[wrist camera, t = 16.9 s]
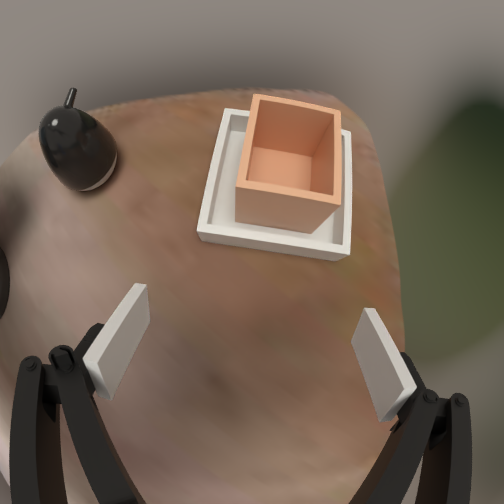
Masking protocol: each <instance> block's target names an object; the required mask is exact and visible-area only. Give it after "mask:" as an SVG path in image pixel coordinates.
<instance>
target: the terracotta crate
mask: <svg viewBox="0 0 504 504" xmlns="http://www.w3.org/2000/svg"><path fill="white" fill-rule="evenodd" d="M341 182H342V144H341V112H340V111H338V110H334V109H331V108H327V107H322V106H318V105H314V104H309V103H305V102H300V101H295V100H290V99H285V98H279V97H273V96H267V95H260V94H254V95H253V100H252V104H251V109H250V114H249V119H248V124H247V129H246V134H245V139H244V144H243V149H242V154H241V160H240V165H239V170H238V175H237V181H236V186H235V222H238V223H245V224H251V225H258V226H264V227H270V228H277V229H283V230H289V231H295V232H301V233H307V234H312V233H313V232H314V231H315V230H316V229H317V228H318V227H319V226H320V225H321V224H322V223H323V222H324V221H325V220H326V219H327V218H328V217H329V216H330V215H331V214H332V213H333V212H334V211H335V210H337V209H338V208H339V207H340V206H341Z"/></svg>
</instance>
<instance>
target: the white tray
mask: <svg viewBox="0 0 504 504" xmlns="http://www.w3.org/2000/svg"><path fill="white" fill-rule="evenodd" d="M249 114H250V111H244V110H236V109H227V108H225V110H224V114H223V118H222V121H221V125H220V129H219V133H218V137H217V141H216V145H215V149H214V153H213V157H212V161H211V166H210V170H209V174H208V179H207V183H206V188H205V192H204V197H203V202H202V206H201V211H200V216H199V221H198V226H197V233H198V235H199V237H200V239H201V241H204V242H211V243H217V244H224V245H231V246H237V247H244V248H251V249H257V250H264V251H270V252H277V253H284V254H290V255H297V256H303V257H310V258H316V259H323V260H329V261H337V260H339V259H342V258H344V257H346V256H348V255H350V241H351V218H352V153H351V132H350V131H346V130H342V129H341V144H342V182H341V206H340V207H339V208H338V209H337V210H335V211H334V212H333V213H332V214H331V215H330V216H329V217H328V218H327V219H326V220H325V221H324V222H323V223H322V224H321V225H320V226H319V227H318V228H317V229H316V230H315V231H314V232H313V233H312V234H307V233H301V232H295V231H289V230H283V229H277V228H270V227H264V226H258V225H251V224H245V223H238V222H235V186H236V181H237V175H238V170H239V165H240V160H241V154H242V149H243V144H244V139H245V134H246V129H247V124H248V119H249Z"/></svg>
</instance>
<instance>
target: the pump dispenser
mask: <svg viewBox="0 0 504 504" xmlns="http://www.w3.org/2000/svg"><path fill="white" fill-rule="evenodd" d="M76 92H77V89H76V88H71V89H70V90H69V93H68V95H67V97H66V100H65V102H64V105H63V106H58V107H55V108H53V109H51V110H50V111H48V112H47V113H46V114H45V115H44V117H43V118H42V120H41V122H40V126H39V142H40V146H41V149H42V152H43V155H44V157H45V160H46V162H47V164H48V166H49V167H50V169H51V171H52V172H53V173H54V175H55V176H56V177H57V178H58V180H59V181H60V182H61V183H62V184H63V185H64V186H66V187H67V188H69V189H71V190H76V191H79V190H80V191H87V190H92V189H94V188H97V187H99V186H100V185H102V184H103V183H104V182H105V181H106V180H107V179H108V178H109V177H110V175H111V174H112V172H113V170H114V167H115V164H116V159H117V145H116V141H115V139H114V137H113V136H112V134H111V133H110V132H109V131H108V130H107V129H106V128H105V127H104V126H103V125H102V124H101V123H100V122H99V121H98V120H97V119H95V118H94V117H92V116H91V115H89V114H88V113H86V112H84V111H82V110H79V109H76V108H73V104H74V99H75V96H76Z"/></svg>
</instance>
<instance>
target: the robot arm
mask: <svg viewBox="0 0 504 504" xmlns="http://www.w3.org/2000/svg"><path fill="white" fill-rule="evenodd" d="M8 293H9V270H8V264H7V260H6V257H5V255H4V252H3V251H2V249H1V248H0V318H1V316H2V315H3V313H4V310H5V307H6V304H7V300H8ZM149 323H150V314H149V304H148V293H147V285H146V284H139V283H135V284H134V285H133V286H132V288H131V289H130V291H129V292H128V293H127V295H126V296H125V297H124V299H123V300H122V301H121V303H120V304H119V306H118V307H117V308H116V310H115V311H114V313H113V314H112V315H111V317H110V318H109V320H108V321H107V323H106V324H105V325H104V324H100V323H97V324H95V325H94V326H92V327H91V328H90V329H89V330H88V332H87V333H86V335H85V336H84V337H83V339H82V340H81V342H80V343H79V344H78V346H77V347H76V349H75V350H74V351H73V349H72V348H71V347H69V346H66V345H59V346H57V347H55V348H53V349H52V350H51V351H50V353H49V360H50V362H51V364H52V365H47V364H42V362H41V360H40V359H39V358H38V357H36V356H29V357H27V358H25V359H24V360H23V361H22V362H21V364H20V367H19V372H18V377H17V383H16V388H15V395H14V402H13V409H12V418H11V430H10V452H9V467H10V488H11V499H12V504H68V502H67V496H66V490H65V484H64V477H63V468H62V458H61V445H60V404H62V407H63V411H64V414H65V418H66V421H67V425H68V428H69V431H70V434H71V437H72V440H73V443H74V446H75V449H76V452H77V454H78V457H79V459H80V462H81V465H82V467H83V469H84V472H85V474H86V476H87V479H88V481H89V483H90V485H91V488H92V490H93V492H94V494H95V496H96V498H97V500H98V502H99V504H146V503H145V501H144V500H143V498H142V496H141V495H140V493H139V492H138V490H137V488H136V487H135V485H134V483H133V481H132V480H131V478H130V476H129V474H128V473H127V471H126V469H125V467H124V465H123V463H122V461H121V460H120V458H119V456H118V454H117V452H116V450H115V447H114V445H113V443H112V441H111V439H110V437H109V435H108V432H107V430H106V428H105V425H104V423H103V421H102V418H101V416H100V413H99V411H98V408H97V405H96V403H95V400H94V398H93V393H94V391H95V390H96V392H97V394H98V396H99V397H102V398H105V399H108V400H111V401H112V399H113V397H114V395H115V393H116V391H117V388H118V386H119V384H120V382H121V380H122V378H123V375H124V373H125V371H126V369H127V367H128V365H129V363H130V361H131V359H132V357H133V355H134V353H135V351H136V349H137V347H138V345H139V343H140V341H141V339H142V337H143V335H144V333H145V331H146V329H147V327H148V325H149ZM351 343H352V346H353V349H354V351H355V354H356V357H357V359H358V362H359V365H360V367H361V370H362V373H363V376H364V378H365V381H366V384H367V387H368V390H369V393H370V396H371V399H372V401H373V404H374V407H375V410H376V414H377V417H378V420H379V422H385V421H391V420H392V419H393V418H394V417H395V416H396V414H397V415H398V418H399V420H398V421H397V422H396V423H395V424H394V426H393V427H392V428H391V429H390V431H392V432H391V434H390V436H389V438H388V440H387V442H386V444H385V446H384V448H383V450H382V451H381V453H380V455H379V457H378V459H377V460H376V462H375V464H374V466H373V467H372V469H371V471H370V472H369V474H368V475H367V477H366V479H365V480H364V482H363V483H362V485H361V486H360V488H359V489H358V491H357V492H356V494H355V495H354V497H353V498H352V500H351V501H350V502H349V504H401V502H402V500H403V498H404V496H405V494H406V492H407V490H408V488H409V486H410V484H411V481H412V479H413V477H414V475H415V473H416V470H417V468H418V465H419V463H420V461H421V458H422V456H423V463H422V469H421V475H420V482H419V486H418V492H417V496H416V501H415V504H469V501H470V491H471V476H472V436H471V435H472V434H471V419H470V408H469V402H468V399H467V398H466V397H465V396H464V395H463V394H460V393H455V394H453V395H452V396H451V398H450V399H445V398H439V397H438V395H437V394H436V393H435V392H434V391H433V390H430V389H426V387H425V385H424V383H423V381H422V379H421V377H420V375H419V374H418V372H417V371H416V368H415V366H414V364H413V362H412V360H411V359H410V357H409V356H407V354H405V353H404V352H399V351H398V349H397V347H396V345H395V344H394V342H393V340H392V338H391V336H390V334H389V333H388V331H387V329H386V327H385V326H384V324H383V322H382V320H381V319H380V317H379V315H378V313H377V312H376V310H375V308H364V309H363V312H362V314H361V317H360V320H359V322H358V325H357V327H356V330H355V332H354V335H353V337H352V340H351ZM423 453H424V454H423Z"/></svg>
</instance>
